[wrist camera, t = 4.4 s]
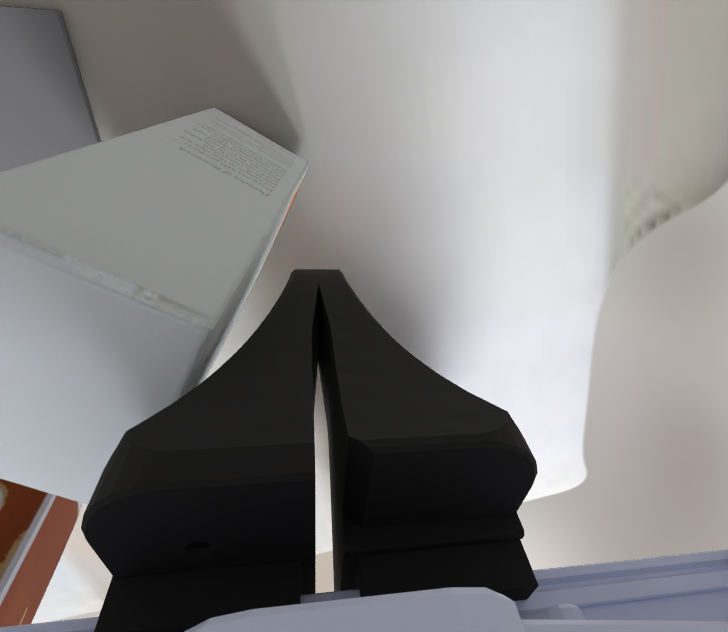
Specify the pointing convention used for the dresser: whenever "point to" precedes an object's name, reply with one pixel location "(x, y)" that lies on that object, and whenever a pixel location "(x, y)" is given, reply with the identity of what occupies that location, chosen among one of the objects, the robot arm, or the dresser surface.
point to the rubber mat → (40, 89)
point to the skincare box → (125, 284)
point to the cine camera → (30, 547)
